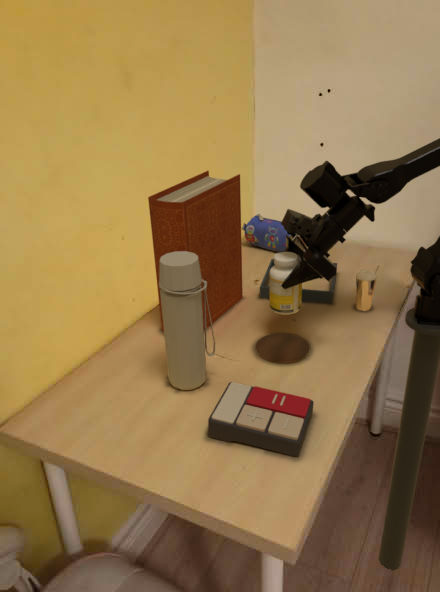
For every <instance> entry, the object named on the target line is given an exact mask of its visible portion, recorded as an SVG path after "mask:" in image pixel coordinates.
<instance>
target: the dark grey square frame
mask: <svg viewBox="0 0 440 592" xmlns="http://www.w3.org/2000/svg"><path fill="white" fill-rule="evenodd" d="M332 263H333V264H334V265H335V267H336V268H337V269H338V262H332ZM274 265H275V264H274V258H271V259H270V262H269V264H268V267H267V269H266V271H265V274H264V275H263V279H262V281H261V283H260V286H259V298H260V299H268V300H270V291H269V286H268V285H269V272H270V269H271V268H272V267H273V266H274ZM337 275H338V271H337V272H336V275H335V276H334V277H333V278H332V279H331V287H330V290H320V289H309V288H308V289H307V288H302V301H301V302H306V303H319V304H330V305H333V302H334V295H335V289H336V288H335V287H336V282H337V281H336V280H337Z"/></svg>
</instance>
